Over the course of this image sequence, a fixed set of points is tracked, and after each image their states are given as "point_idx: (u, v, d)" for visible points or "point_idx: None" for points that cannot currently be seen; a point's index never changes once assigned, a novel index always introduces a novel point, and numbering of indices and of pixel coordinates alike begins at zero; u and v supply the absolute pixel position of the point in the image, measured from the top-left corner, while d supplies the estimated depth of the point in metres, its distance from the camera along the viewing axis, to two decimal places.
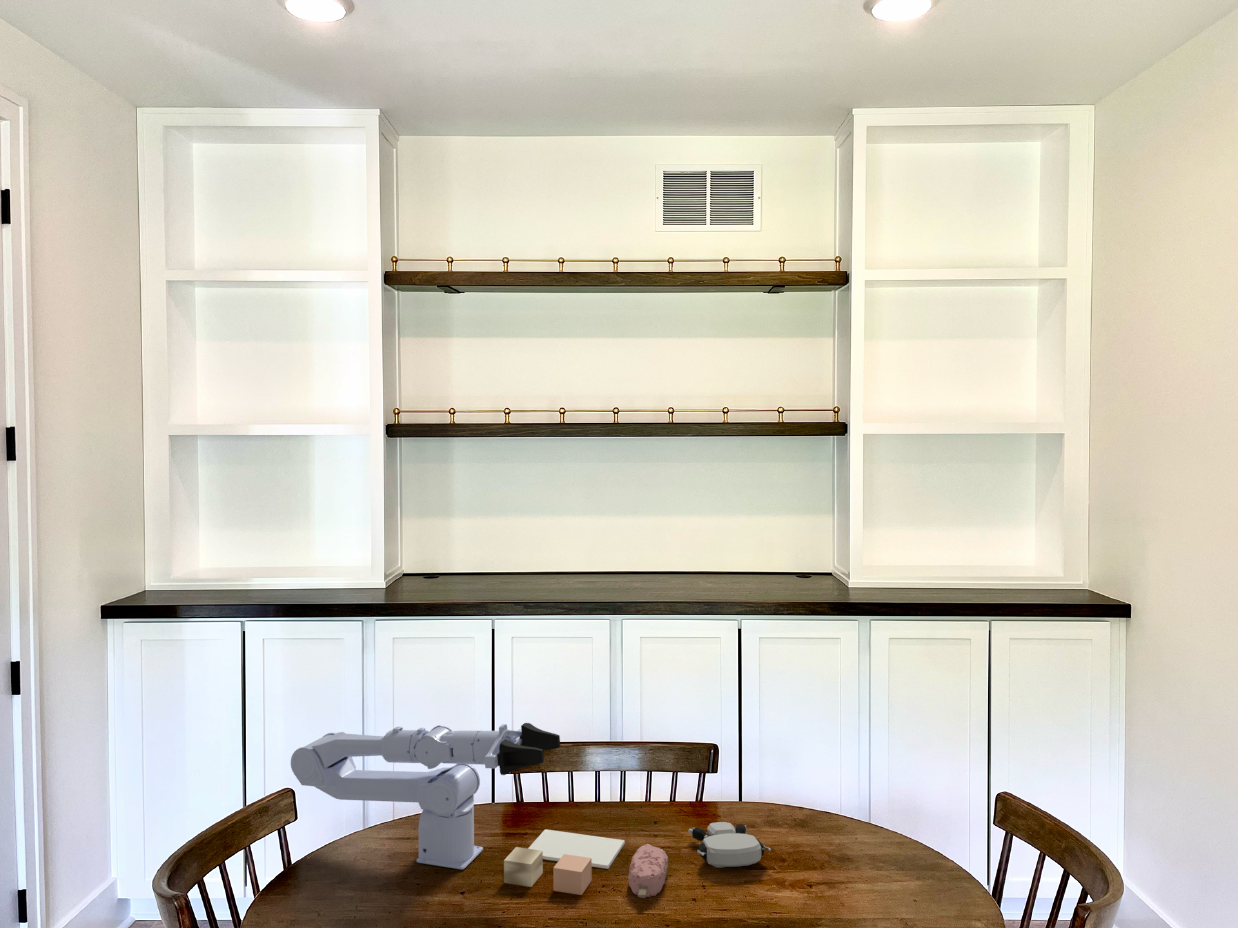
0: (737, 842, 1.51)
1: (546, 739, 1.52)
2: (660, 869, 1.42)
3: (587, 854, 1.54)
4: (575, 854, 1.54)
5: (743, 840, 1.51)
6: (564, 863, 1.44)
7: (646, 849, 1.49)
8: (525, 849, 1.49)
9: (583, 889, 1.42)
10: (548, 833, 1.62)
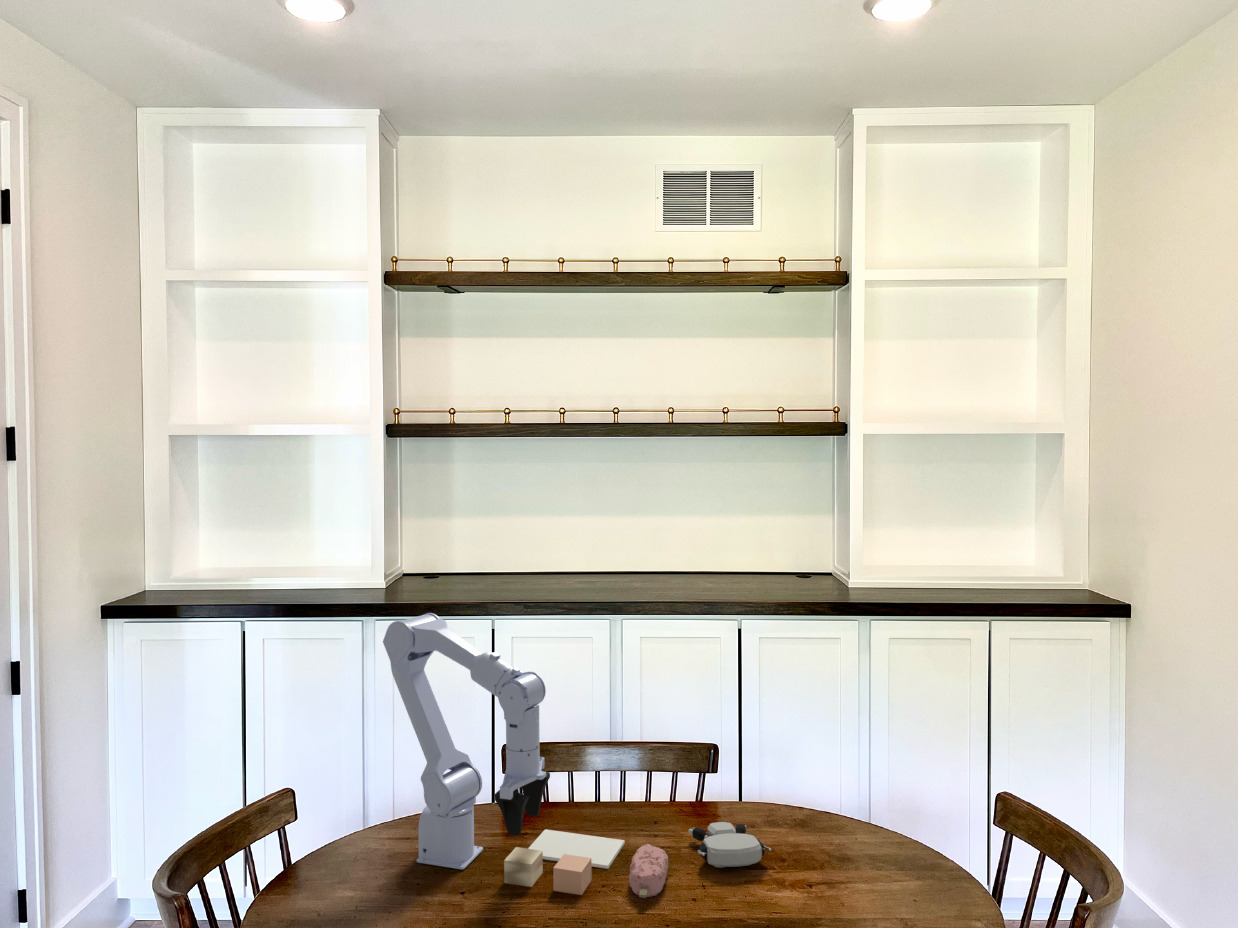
0: (737, 842, 1.51)
1: (533, 802, 1.50)
2: (661, 869, 1.42)
3: (587, 854, 1.54)
4: (575, 854, 1.54)
5: (743, 840, 1.51)
6: (564, 863, 1.44)
7: (646, 849, 1.49)
8: (525, 849, 1.49)
9: (583, 889, 1.42)
10: (548, 833, 1.62)
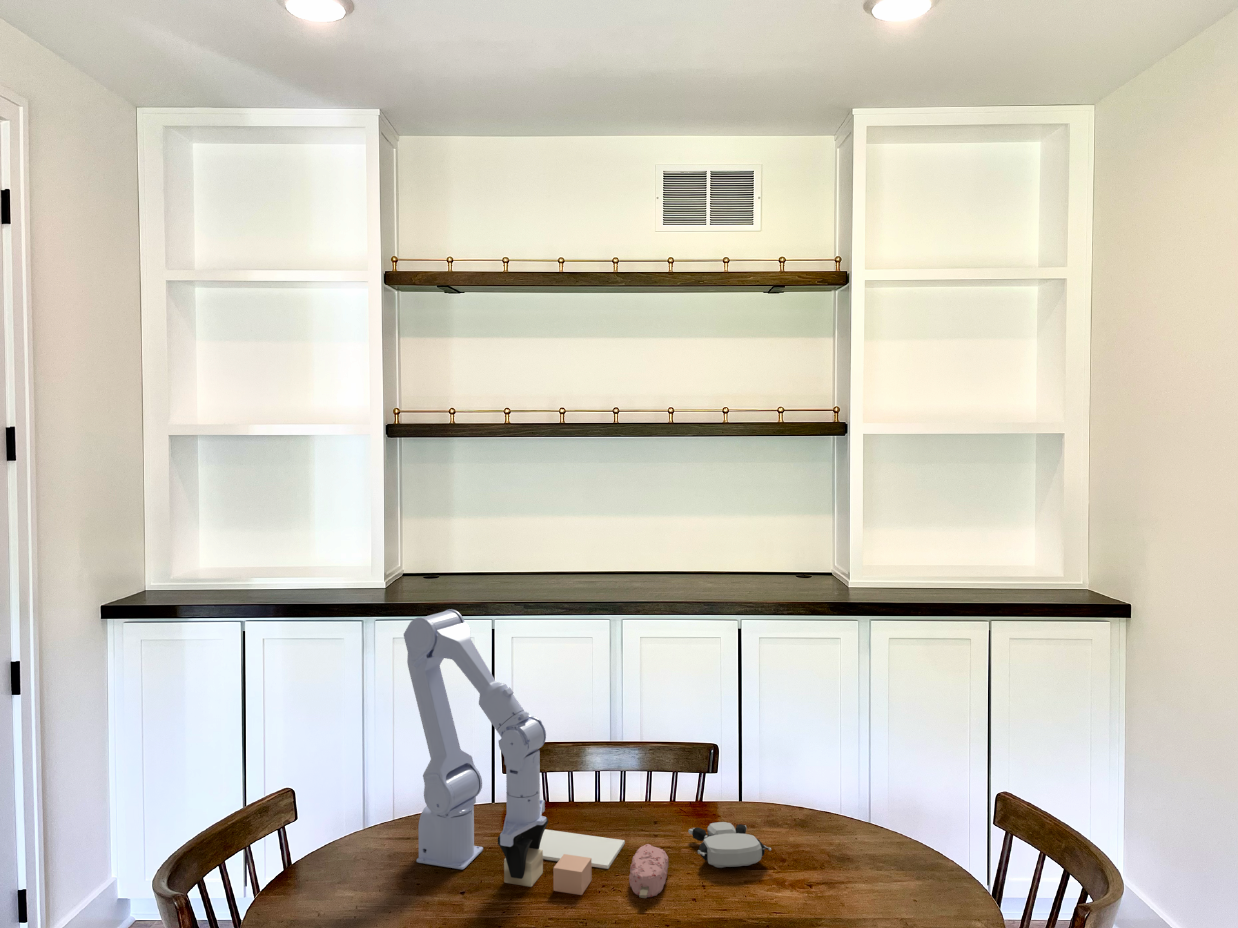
0: (738, 842, 1.51)
1: None
2: (661, 869, 1.42)
3: (587, 854, 1.54)
4: (575, 854, 1.54)
5: (743, 840, 1.51)
6: (564, 863, 1.44)
7: (646, 849, 1.49)
8: None
9: (583, 889, 1.42)
10: (548, 833, 1.62)
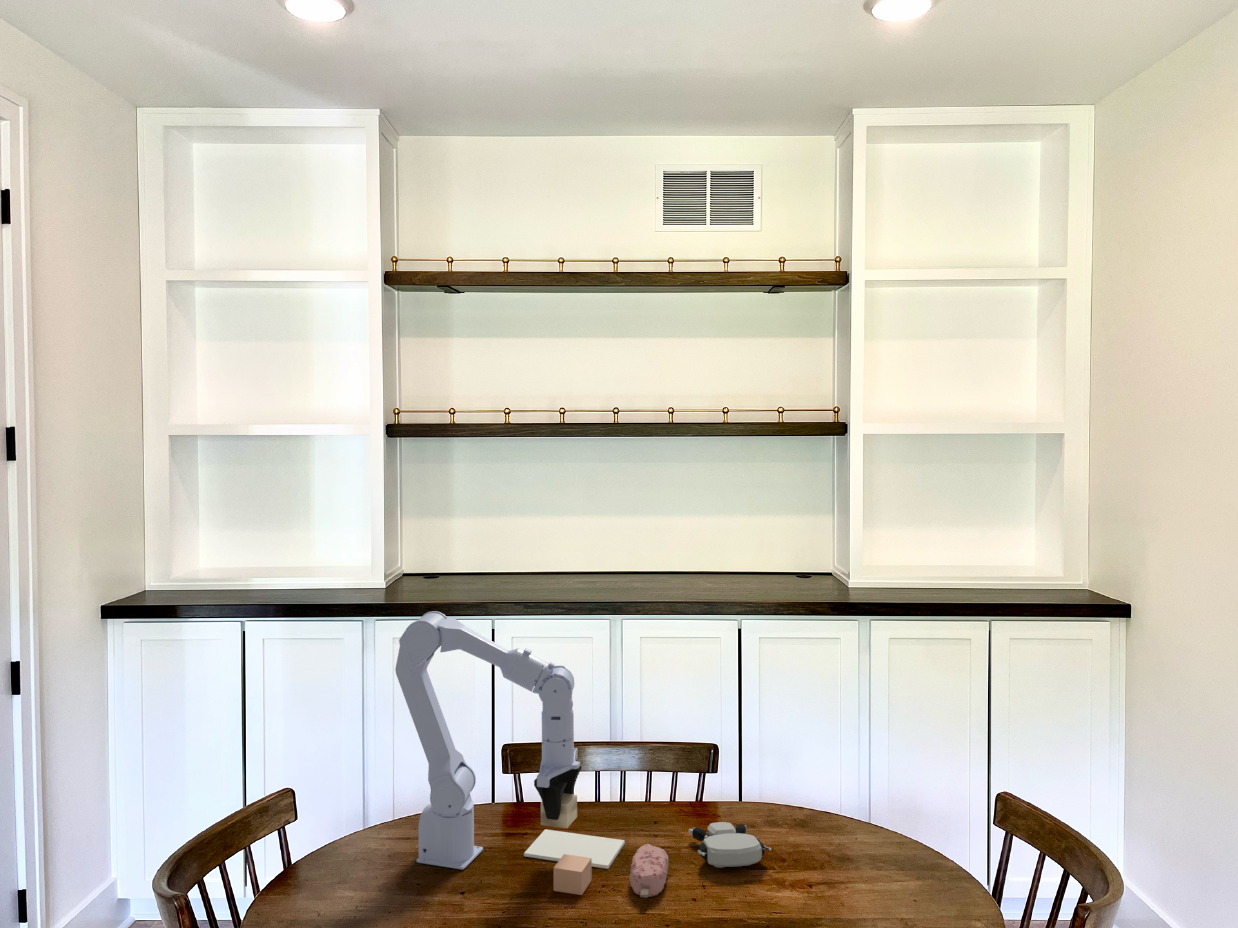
0: (737, 842, 1.51)
1: None
2: (661, 869, 1.42)
3: (587, 854, 1.54)
4: (575, 854, 1.54)
5: (743, 840, 1.51)
6: (564, 863, 1.44)
7: (646, 849, 1.49)
8: None
9: (583, 889, 1.42)
10: (548, 833, 1.62)
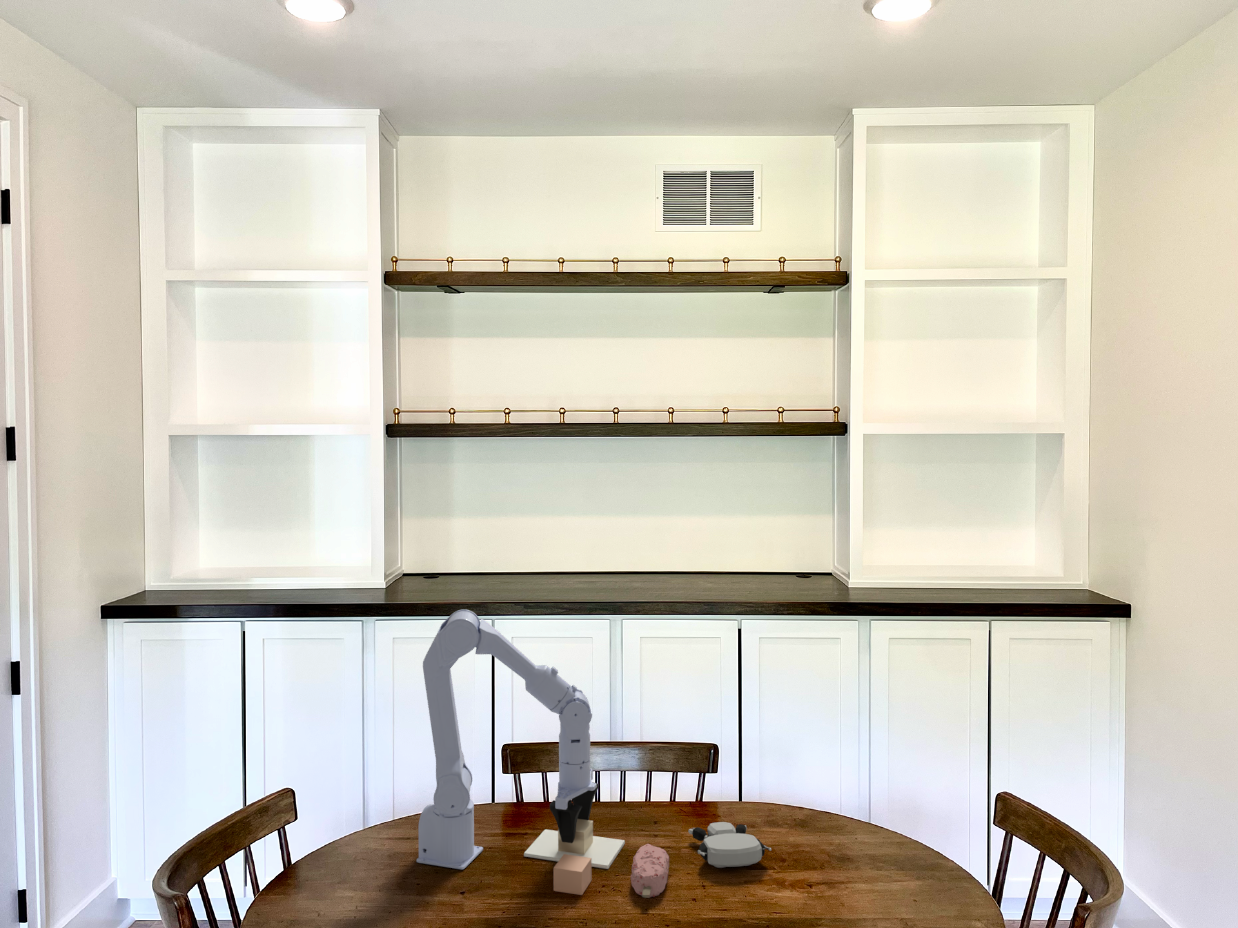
0: (738, 842, 1.51)
1: (583, 811, 1.60)
2: (663, 869, 1.43)
3: (587, 854, 1.54)
4: (575, 854, 1.54)
5: (743, 840, 1.51)
6: (564, 863, 1.44)
7: (647, 849, 1.49)
8: None
9: (583, 889, 1.42)
10: (548, 833, 1.62)
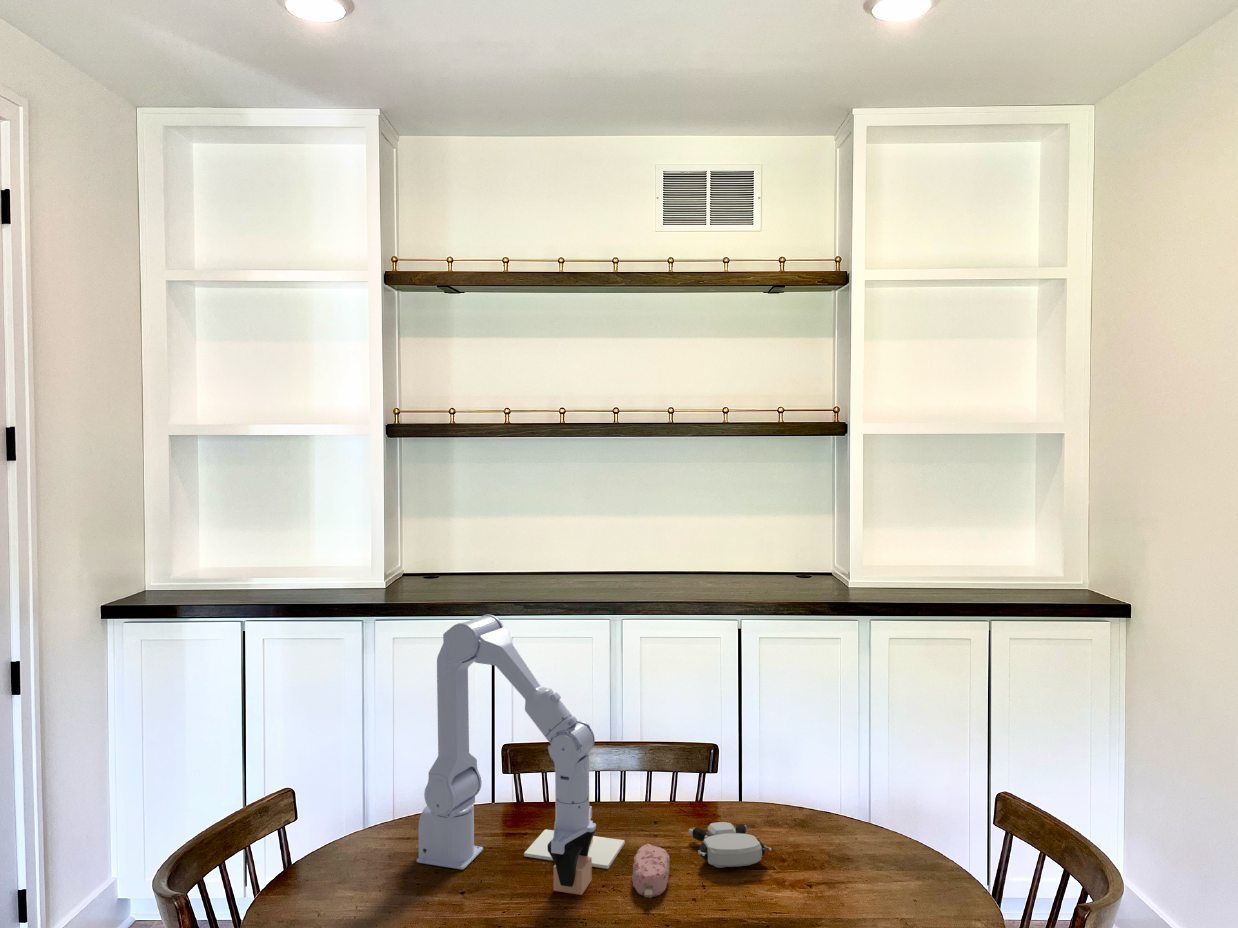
0: (738, 842, 1.51)
1: None
2: (664, 868, 1.43)
3: None
4: None
5: (744, 840, 1.51)
6: None
7: (647, 849, 1.49)
8: None
9: (583, 888, 1.42)
10: (548, 833, 1.62)
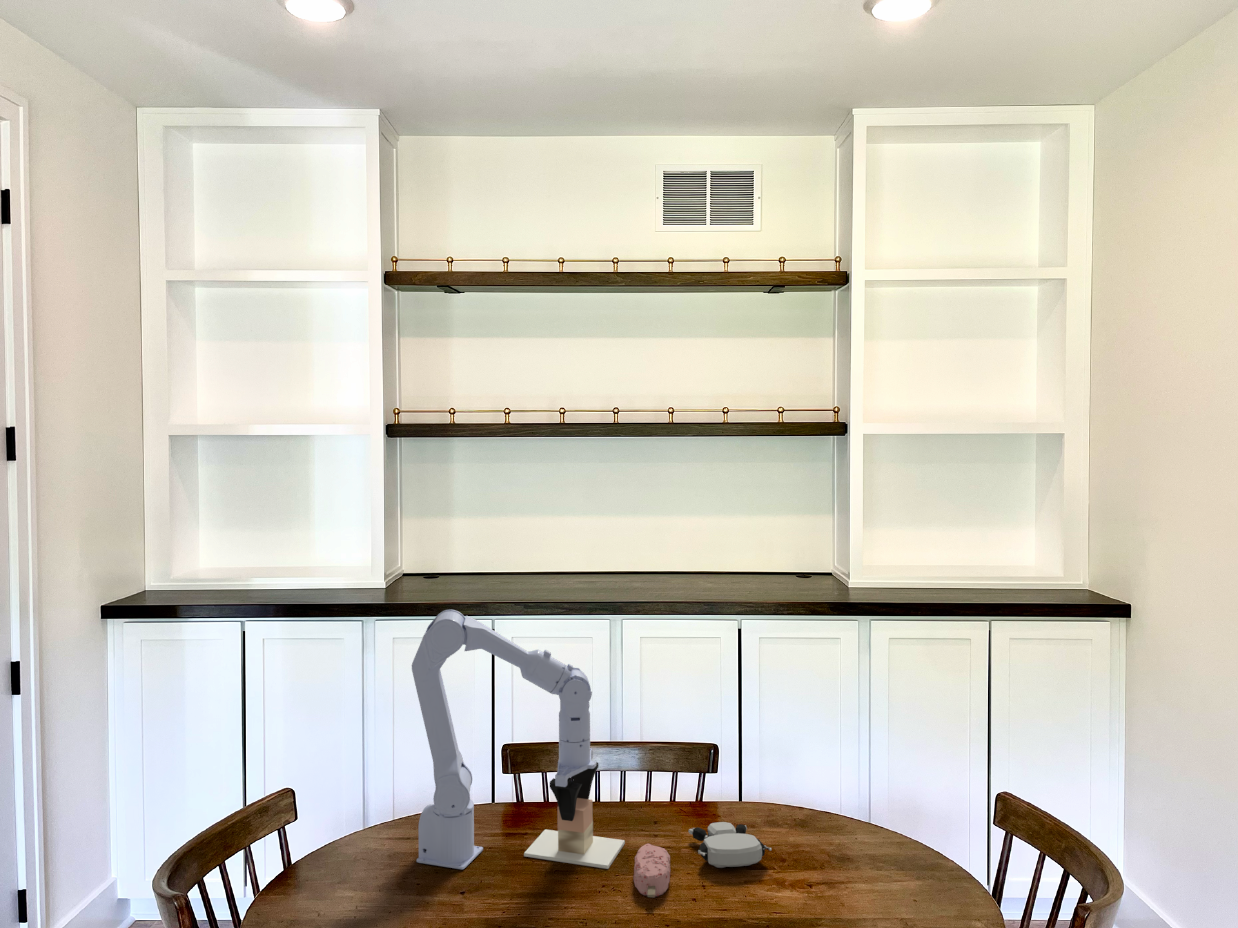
0: (738, 842, 1.51)
1: (583, 790, 1.60)
2: (666, 868, 1.43)
3: (587, 854, 1.54)
4: (575, 854, 1.54)
5: (744, 840, 1.51)
6: None
7: (648, 849, 1.49)
8: None
9: (585, 827, 1.54)
10: (548, 833, 1.62)
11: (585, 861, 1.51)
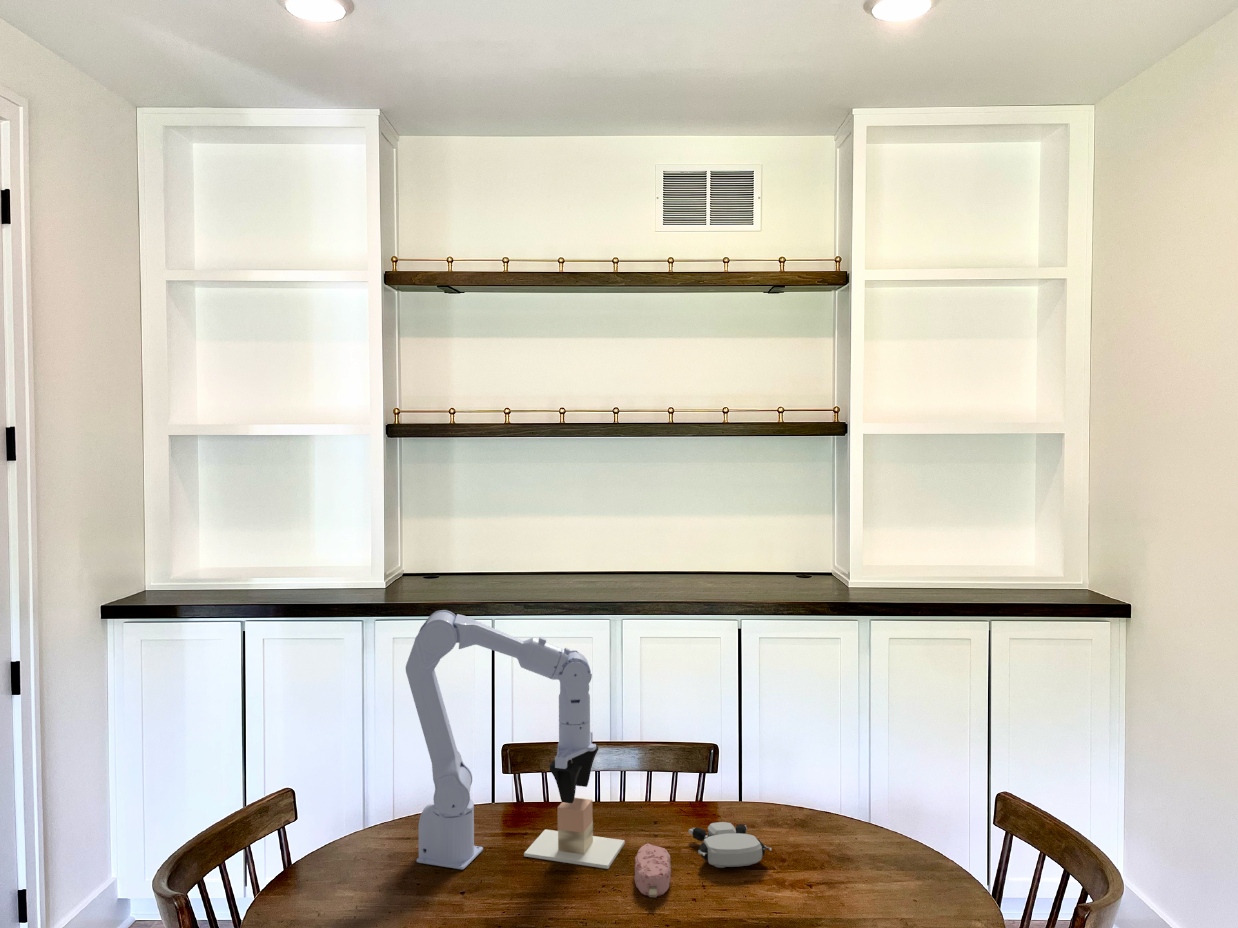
0: (738, 842, 1.51)
1: (582, 773, 1.60)
2: (667, 868, 1.43)
3: (587, 854, 1.54)
4: (575, 854, 1.54)
5: (744, 840, 1.51)
6: (567, 804, 1.56)
7: (648, 849, 1.49)
8: None
9: (585, 827, 1.54)
10: (548, 833, 1.62)
11: (585, 861, 1.51)
